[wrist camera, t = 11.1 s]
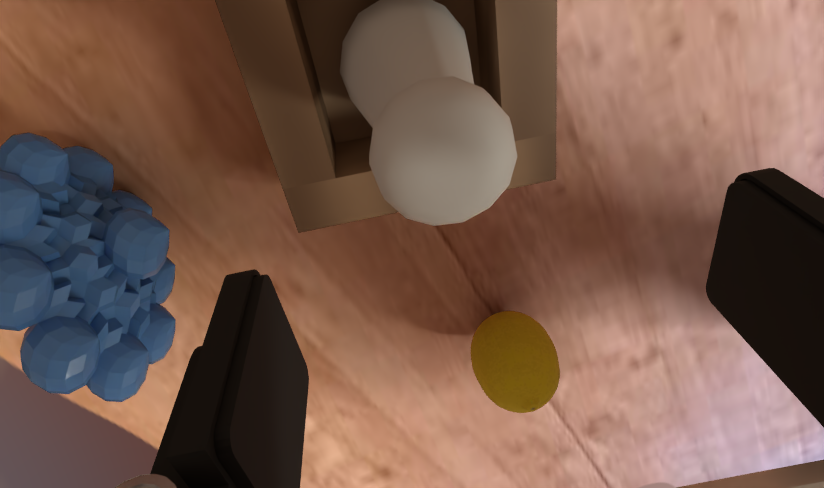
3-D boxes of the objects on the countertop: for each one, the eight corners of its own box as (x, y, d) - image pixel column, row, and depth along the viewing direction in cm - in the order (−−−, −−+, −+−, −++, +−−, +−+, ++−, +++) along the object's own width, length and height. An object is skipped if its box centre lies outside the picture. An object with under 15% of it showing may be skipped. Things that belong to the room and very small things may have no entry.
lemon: (464, 350, 38) (490, 444, 32) (457, 296, 35) (485, 388, 29) (535, 336, 38) (576, 427, 32) (534, 281, 35) (580, 369, 29)
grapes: (255, 250, 31) (218, 415, 21) (157, 288, 32) (79, 465, 22) (127, 71, 24) (-13, 192, 14) (8, 125, 25) (-203, 275, 15)
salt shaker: (320, 8, 23) (310, 108, 12) (441, -34, 23) (535, 31, 12) (364, 124, 26) (384, 280, 16) (469, 89, 26) (562, 224, 15)
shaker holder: (516, -141, 21) (557, -149, 17) (526, 140, 29) (555, 179, 25) (215, -80, 21) (188, -74, 17) (303, 186, 29) (298, 232, 25)
